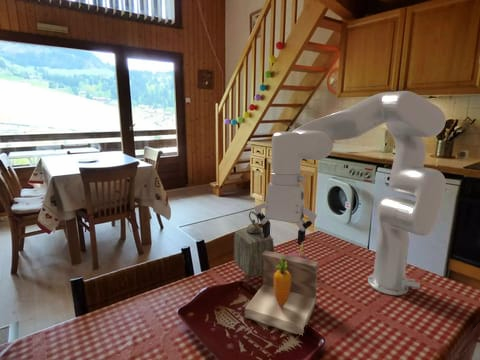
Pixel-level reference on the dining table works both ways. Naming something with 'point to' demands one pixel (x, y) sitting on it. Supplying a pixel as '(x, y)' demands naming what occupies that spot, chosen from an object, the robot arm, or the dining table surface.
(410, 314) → the dining table surface
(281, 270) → the carrot
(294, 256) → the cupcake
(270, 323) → the shelf
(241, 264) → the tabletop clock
